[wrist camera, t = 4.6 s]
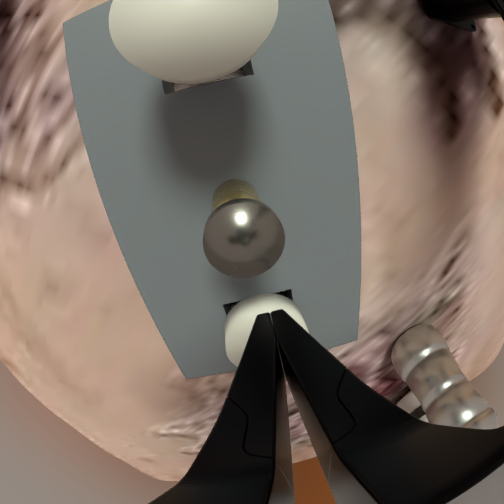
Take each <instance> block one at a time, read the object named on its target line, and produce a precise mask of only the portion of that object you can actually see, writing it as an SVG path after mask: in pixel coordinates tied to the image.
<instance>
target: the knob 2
mask: <svg viewBox="0 0 504 504" xmlns="http://www.w3.org/2000/svg"><path fill="white" fill-rule="evenodd" d="M279 309H283V310H284V311H286V312H287V313H288V314H289V315H290V316H291V317H292V318H293V319H294V320H295V321H296V322H297V323H298V324H299V325H301V326H302V327H303V328H304V329H305V330H306V331H307V332H308V333H309V331H308V329H307V326H306V324H305V321H304V319H303V316H302V314H301V311H300V309H299V307H298V306H297V304H296V303H295V302H294V301H292V300H291V299H289V298H287V297H285V296H282V295H280V292H277V293H273V294H271V293H266V294H258V295H254V296H251V297H248V298H246V299H244V300H242V301H237V302H235V306H234V307H233V308H232V309H231V310H230V311H229V313H228V314H227V316H226V318H225V322H224V333H225V347H226V354H227V356H228V358H229V360H230V361H231V362H232V363H233V364H234V365H235V366H237V367H238V365H239V363H240V360H241V357H242V354H243V352H244V349H245V346H246V344H247V341H248V338H249V335H250V333H251V330H252V327H253V324H254V322H255V319H256V316H257V315H258V314H263V313H267V312H269V313H271V312H272V311H275V310H279ZM272 324H273V323H272ZM277 345H278V344H277ZM280 358H281V357H280ZM281 362H282V361H281ZM282 366H283V365H282Z"/></svg>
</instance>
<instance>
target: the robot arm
mask: <svg viewBox="0 0 504 504" xmlns="http://www.w3.org/2000/svg"><path fill="white" fill-rule="evenodd" d="M422 1H423V5H424V8H425V11H426V14H427V16H428V17H429V18H431V19H434V20H437V21H441V22H444V23H447V24H450V25H454V26H457V27H460V28H463V29H465V30H468V31H471V32H475V31H476V26H475V22H474V20H477V19H486V18H497V17H502V19H503V20H504V0H422ZM431 13H432V14H431ZM272 323H273V324H272ZM277 344H278V345H277ZM280 357H281V358H280ZM281 361H282V362H281ZM282 365H283V366H282ZM283 370H284V371H283ZM284 373H285V376H286V379H287V382H288V385H289V387H290V390H291V392H292V395H293V397H294V400H295V402H296V405H297V407H298V410H299V412H300V415H301V417H302V420H303V422H304V425H305V427H306V430H307V432H308V435H309V437H310V440H311V442H312V445H313V447H314V450H315V452H316V455H317V457H318V460H319V462H320V465H321V467H322V470H323V472H324V474H325V477H326V479H327V481H328V483H329V487H330V489H331V491H332V494H333V496H334V499H335V501H336V503H337V504H504V426H502V427H500V428H495V429H474V428H463V427H454V426H446V425H438V424H432V423H428V422H425V421H422V420H420V419H418V418H416V417H414V416H413V415H411V414H409V413H408V412H406V411H405V410H403V409H402V408H400V407H398V406H397V405H395V404H394V403H392V402H391V401H389V400H388V399H386V398H385V397H383V396H382V395H380V394H379V393H377V392H376V391H374V390H373V389H372V388H370V387H369V386H367V385H366V384H365V383H364V382H363V381H361V380H360V379H359V378H358V377H357V376H355V375H354V374H353V373H352V372H351V371H350V370H349V369H346V367H345V366H344V365H343V364H342V363H341V362H340V361H339V360H338V359H336V358H335V357H334V356H333V355H332V354H331V353H330V352H329V351H328V350H327V349H326V348H324V347H323V346H322V345H321V344H320V343H319V342H318V341H317V340H316V339H315V338H314V337H312V336H311V335H310V334H309V333H308V332H307V331H306V330H305V329H304V328H303V327H302V326H301V325H299V324H298V323H297V322H296V321H295V320H294V319H293V318H292V317H291V316H290V315H289V314H288V313H287V312H286V311H284V310H283V309H279V310H275V311H272V312H271V313H269V312H267V313H263V314H258V315H257V316H256V319H255V322H254V324H253V327H252V330H251V333H250V335H249V338H248V341H247V344H246V346H245V349H244V352H243V354H242V357H241V360H240V363H239V365H238V368H237V371H236V373H235V376H234V379H233V381H232V384H231V387H230V389H229V392H228V394H227V398H226V399H225V402H224V405H223V407H222V410H221V412H220V414H219V417H218V419H217V421H216V423H215V425H214V427H213V429H212V431H211V433H210V435H209V436H208V438H207V440H206V442H205V443H204V445H203V447H202V449H201V450H200V452H199V454H198V455H197V457H196V459H195V460H194V462H193V464H192V465H191V467H190V469H189V470H188V472H187V473H186V475H185V476H184V477H183V478H182V479H181V480H180V482H179V483H177V484H176V485H175V486H174V487H172V488H171V489H170V490H168V491H167V492H165V493H164V494H162V495H161V496H159V497H158V498H156V499H155V500H153V501H152V502H150V503H148V504H295V500H294V485H293V470H292V456H291V443H290V431H289V419H288V407H287V396H286V385H285V376H284Z"/></svg>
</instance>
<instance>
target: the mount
mask: <svg viewBox="0 0 504 504" xmlns="http://www.w3.org/2000/svg"><path fill="white" fill-rule="evenodd" d="M112 2H113V0H110V1H107V2H105V3H103V4H101V5H98V6H96V7H94V8H92V9H90V10H87V11H85V12H83V13H81V14H79V15H77V16H75V17H73V18H71V19H70V20H68V21H66V22H64V23H63V30H64V40H65V48H66V56H67V63H68V69H69V75H70V81H71V86H72V92H73V97H74V101H75V106H76V111H77V115H78V119H79V124H80V128H81V132H82V135H83V139H84V143H85V147H86V150H87V154H88V157H89V161H90V164H91V168H92V171H93V174H94V177H95V180H96V183H97V187H98V190H99V193H100V195H101V198H102V201H103V204H104V207H105V210H106V213H107V215H108V218H109V221H110V223H111V226H112V229H113V231H114V234H115V236H116V239H117V241H118V244H119V246H120V249H121V251H122V254H123V256H124V258H125V261H126V263H127V265H128V268H129V270H130V272H131V274H132V277H133V279H134V281H135V283H136V285H137V288H138V290H139V292H140V294H141V296H142V298H143V300H144V302H145V304H146V306H147V309H148V311H149V313H150V315H151V317H152V319H153V320H154V322H155V324H156V326H157V328H158V330H159V332H160V334H161V336H162V338H163V340H164V341H165V343H166V345H167V347H168V349H169V350H170V352H171V354H172V356H173V358H174V359H175V361H176V363H177V365H178V366H179V368H180V370H181V371H182V373H183V375H184V376H185V378H186V379H190V378H197V377H203V376H209V375H216V374H221V373H227V372H232V371H237V368H238V367H237V366H235V365H234V364H233V363H232V362H231V361H230V360H229V358H228V356H227V354H226V347H225V333H224V322H225V318H226V316H227V314H228V313H229V311H230V310H231V309H232V307H231V304H230V303H233V302H237V301H242V300H244V299H246V298H248V297H251V296H254V295H258V294H266V293H271V294H273V293H277V292H281V291H284V293H285V297H287V298H289V299H291V300H292V301H294V302H295V303H296V304H297V306H298V307H299V309H300V311H301V314H302V316H303V319H304V321H305V324H306V326H307V329H308V331H309V334H310V335H311V336H312V337H314V338H315V339H316V340H317V341H318V342H319V343H320V344H321V345H322V346H323V347H324V348H326V349H329V348H333V347H336V346H339V345H343V344H346V343H349V342H352V341H355V340H357V337H358V325H359V309H360V287H361V213H360V192H359V176H358V163H357V152H356V142H355V133H354V125H353V117H352V110H351V103H350V97H349V91H348V85H347V79H346V73H345V68H344V63H343V58H342V53H341V48H340V44H339V39H338V35H337V31H336V27H335V23H334V19H333V15H332V11H331V8H330V4H329V1H328V0H278V13H277V18H276V21H275V24H274V26H273V28H272V30H271V32H270V34H269V35H268V37H267V38H266V39H265V41H264V42H263V44H262V45H261V47H260V48H259V49H258V51H257V52H256V54H255V55H254V56H253V57H252V58H251V59H250V60H249V61H248V62H247V63H246V64H245V65H244V66H242V67H243V72H244V76H242V77H236V78H231V79H226V80H221V81H216V82H212V83H207V84H203V85H199V86H195V87H191V88H187V89H183V90H179V91H176V92H174V88H173V84H172V83H171V82H168V81H164V80H161V79H159V78H156V77H154V76H152V75H151V74H149V73H147V72H145V71H143V70H142V69H140V68H138V67H136V66H135V65H133V64H131V63H130V62H129V61H128V60H126V59H125V58H124V57H123V56H122V55H121V54H120V52H119V51H118V50H117V48H116V47H115V45H114V43H113V40H112V38H111V35H110V31H109V12H110V8H111V4H112ZM231 179H240V180H244V181H246V182H248V183H249V184H251V185H252V186H253V187H254V189H255V190H256V192H257V194H258V196H259V198H260V200H261V202H263V203H264V204H266V205H267V206H269V207H270V208H271V209H272V210H273V211H274V212H275V213H276V215H277V217H278V218H279V220H280V222H281V224H282V226H283V228H284V232H285V246H284V249H283V252H282V254H281V256H280V258H279V260H278V261H277V262H276V263H275V265H274V266H272V267H271V268H270V269H269V270H267V271H266V272H264V273H262V274H260V275H257V276H254V277H249V278H235V277H230V276H227V275H225V274H222V273H221V272H219V271H218V270H216V269H215V268H214V267H213V266H212V265H211V264H210V263H209V261H208V260H207V258H206V256H205V253H204V249H203V232H204V227H205V224H206V221H207V219H208V217H209V216H210V215H211V213H212V198H213V194H214V192H215V190H216V189H217V187H218V186H219V185H220V184H222V183H223V182H225V181H227V180H231Z"/></svg>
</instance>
